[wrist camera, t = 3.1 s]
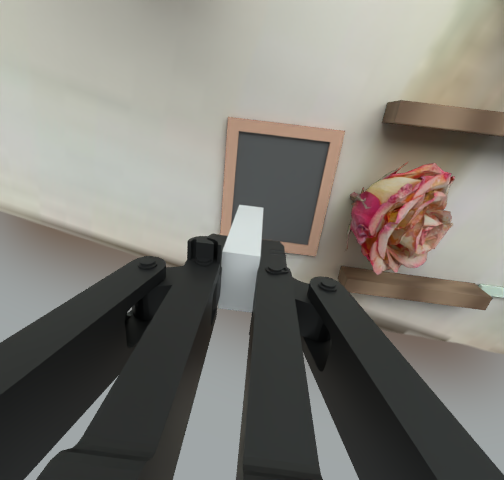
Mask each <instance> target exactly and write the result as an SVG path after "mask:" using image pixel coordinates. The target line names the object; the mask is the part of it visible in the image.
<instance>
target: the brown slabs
mask: <svg viewBox="0 0 504 480" xmlns="http://www.w3.org/2000/svg"><path fill="white" fill-rule="evenodd" d="M382 122H383V123H391V124H399V125H408V126H416V127H424V128H433V129H441V130H449V131H458V132H466V133H475V134H483V135H491V136H500V137H504V112H496V111H488V110H479V109H471V108H462V107H454V106H445V105H437V104H428V103H420V102H411V101H403V100H400V101H394V102H388V103H387V107H386V110H385V114H384V117H383V121H382ZM338 279H339V282H340V283H341V284H342V285H343V286H344V287H345V288H346V290H347V291H348V292H351V293H359V294H366V295H374V296H381V297H389V298H396V299H404V300H412V301H419V302H427V303H434V304H442V305H449V306H457V307H465V308H472V309H480V310H486V308H487V307H488V305H489V303H490V301H491V300H492V297H491V296H490V295H488V294H487V293H486V292H485V291H483V290H482V289H481V288H480V287H478V286H477V285H476V284H475V283H467V282H459V281H452V280H444V279H436V278H429V277H421V276H413V275H406V274H398V273H390V272H382V273H381V274H378V275H377V274H376V273H375V272H374V271H373V270H367V269H360V268H352V267H344V266H341V269H340V273H339V276H338Z"/></svg>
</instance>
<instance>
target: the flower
mask: <svg viewBox="0 0 504 480" xmlns="http://www.w3.org/2000/svg"><path fill="white" fill-rule="evenodd" d="M407 163H408V162H407ZM407 163H406V164H407ZM406 164H404V165H406ZM404 165H403V166H404ZM403 166H401V167H400V168H398V169H396V170H394V171H392V172H390V173H388V174H387V175H385V176H384V177H382V178H381V179H380V180H379V181H377V182H376V183H374V184H373V185H371V186H370V187H369V188H368V189H367V190H366V191H365V192H364V187H363V188H362V192H361V194H357V193H355V192H354V193H352V194H351V195H350V198H351V200H352V201H354V203H353V204H351V205H353V208H352V212H351V216H352V220H351V222H350V224H349V227H348V231H347V247H348V238H349V233H350V231H351V230H352V231H353V233H354V235H355V236H356V238H357V242H358V243H359V244H360V245H361V246H362V248H361V252H362V254H363V255H364V256H366V257H367V259H368V261H370V262H371V264H372V266H373V271H374V272H375V273H376V274H377V275H378V274H381V273H382V272H383V271H385V270H389V269H392V270H393V271H394V272H397V271H398V269H399V267H400V266H401V265H402V264H403V265H404V266H406V267H408V268H417V267H419V266H420V265H422V264H423V263H424V262H425V261H426V259H427V252H428V251H430V250H431V249H435V247H436V246H437V244H438V243H439V242H440V240H441V239H442V238H443V236H444V235H445V234H446V232H447V231H448V230H449V228H450V227H451V226H452V225H453V223H450V222H451V219H452V216H451V214H450V212H449V211H443V210H444V209H445V207H446V204H447V194H448V190H449V187H450V186H451V184H452V182H453V181H454V179H455V177H454V176H452V177H450V176H451V173H448V172H444V171H443V170H442V169H440V168H439V167H438V166H437V164H436V163H433V164H427V165H423V166H421V167H418V168H416V169H414V170H411V171H409V172H406V173H400V174H396V172H397V171H398V170H399V169H401V168H402V167H403ZM451 181H452V182H451ZM346 250H347V249H346ZM346 250H345V251H346Z"/></svg>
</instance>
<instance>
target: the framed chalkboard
mask: <svg viewBox="0 0 504 480" xmlns="http://www.w3.org/2000/svg"><path fill="white" fill-rule="evenodd" d="M344 134H345V131H341V130H332V129H324V128H316V127H308V126H299V125H291V124H283V123H274V122H266V121H258V120H249V119H241V118H233V117H228V124H227V139H226V155H225V170H224V185H223V200H222V215H221V230H220V235H225V236H228V234H229V232H230V229H231V226H232V223H233V221H234V218H235V215H236V212H237V210H238V207H239V205H246V206H254V207H262V208H263V224H262V239H264V240H272V241H280V242H281V243H282V244H283V245H284V249H285V252H287V253H294V254H302V255H310V256H316V253H317V249H318V245H319V240H320V236H321V232H322V228H323V223H324V219H325V215H326V210H327V206H328V202H329V198H330V193H331V189H332V185H333V181H334V176H335V172H336V168H337V164H338V159H339V155H340V151H341V146H342V142H343V138H344Z"/></svg>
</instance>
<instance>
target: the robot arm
mask: <svg viewBox="0 0 504 480" xmlns="http://www.w3.org/2000/svg"><path fill="white" fill-rule="evenodd" d="M262 224H263V208H262V207H254V206H246V205H239V207H238V210H237V212H236V215H235V218H234V221H233V223H232V226H231V229H230V232H229V234H228V236H225V235H217V234H211V235H209V236H199V237H194V238H191V239H189V240H188V252H187V261H186V263H185V265H184V266H180V267H166V262H165V261H164V260H163V259H161V258H159V257H153V256H144V257H141V258H137V259H135V260H133V261H131V262H130V263H128V264H126V265H125V266H123V267H122V268H120V269H118V270H117V271H115V272H114V273H112V274H110V275H109V276H107V277H105V278H104V279H102V280H101V281H99V282H97V283H96V284H94V285H93V286H91V287H89V288H88V289H86V290H85V291H83V292H81V293H80V294H78V295H76V296H75V297H73V298H72V299H70V300H68V301H67V302H65V303H64V304H62V305H61V306H59V307H57V308H56V309H54V310H52V311H51V312H49V313H48V314H46V315H44V316H43V317H41V318H40V319H38V320H36V321H35V322H33V323H31V324H30V325H28V326H27V327H25V328H23V329H22V330H20V331H19V332H17V333H15V334H14V335H12V336H11V337H9V338H7V339H6V340H4V341H3V342H1V343H0V480H24V479H25V478H26V477H27V475H28V474H29V473H30V472H31V471H32V470H33V469H34V468H35V467H36V466H37V464H38V463H39V462H40V461H41V460H42V459H43V458H44V457H45V456H46V455H47V453H48V452H49V451H50V450H51V449H52V448H53V447H54V446H55V445H56V443H57V442H58V441H59V440H60V439H61V438H62V437H63V436H64V435H65V434H66V432H67V431H68V430H69V429H70V428H71V427H72V426H73V425H74V424H75V423H76V421H77V420H78V419H79V418H80V417H81V416H82V415H83V414H84V413H85V412H86V410H87V409H88V408H89V407H90V406H91V405H92V404H93V403H94V401H95V400H96V399H97V398H98V397H99V396H100V395H101V394H102V393H103V392H104V391H105V389H106V388H107V387H108V386H109V385H110V384H111V383H112V382H113V381H114V380H115V378H116V377H117V376H118V375H119V376H118V378H117V379H116V381H115V383H114V384H113V386H112V388H111V389H110V391H109V393H108V395H107V396H106V398H105V400H104V401H103V403H102V405H101V406H100V408H99V410H98V411H97V413H96V415H95V416H94V418H93V420H92V421H91V423H90V425H89V426H88V428H87V430H86V431H85V433H84V435H83V437H82V438H81V439H80V441H79V442H78V443H77V445H75V446H74V447H73V448H71V449H67V450H63V451H61V452H59V453H58V454H57V455H56V456H55V457H54V458H52V460H50V462H49V463H48V464H47V466H46V467H45V468H44V470H43V471H42V472H41V474H40V475H39V476H38V478H37V479H36V480H173V476H174V472H175V469H176V465H177V461H178V457H179V454H180V450H181V446H182V442H183V438H184V435H185V431H186V428H187V424H188V420H189V416H190V413H191V409H192V405H193V401H194V398H195V394H196V390H197V387H198V382H199V379H200V375H201V371H202V368H203V364H204V361H205V357H206V353H207V349H208V346H209V342H210V338H211V334H212V331H213V326H214V323H215V320H216V315H217V305H218V308H220V309H228V310H236V311H244V312H251V313H252V318H251V325H250V332H249V335H250V338H249V348H248V359H247V370H246V380H245V391H244V401H243V413H242V422H241V423H242V424H241V433H240V444H239V454H238V465H237V477H236V480H323V479H322V477H321V473H320V468H319V462H318V455H317V448H316V441H315V434H314V427H313V420H312V414H311V406H310V399H309V392H308V385H307V379H306V372H305V365H304V358H303V353H304V355H305V357H306V360H307V362H308V364H309V366H310V369H311V371H312V373H313V375H314V378H315V380H316V382H317V385H318V387H319V389H320V391H321V393H322V396H323V398H324V400H325V403H326V405H327V407H328V409H329V412H330V414H331V416H332V418H333V421H334V423H335V425H336V427H337V430H338V432H339V435H340V437H341V439H342V441H343V444H344V446H345V448H346V450H347V453H348V455H349V457H350V459H351V462H352V464H353V466H354V469H355V471H356V473H357V475H358V478H359V480H504V475H503V474H502V473H501V471H500V470H499V469H498V468H497V467H496V465H495V464H494V463H493V462H492V461H491V460H490V459H489V457H488V456H487V455H486V454H485V452H484V451H483V450H482V449H481V448H480V447H479V445H478V444H477V443H476V442H475V441H474V440H473V438H472V437H471V436H470V435H469V434H468V432H467V431H466V430H465V429H464V428H463V427H462V425H461V424H460V423H459V422H458V421H457V419H456V418H455V417H454V416H453V415H452V413H451V412H450V411H449V410H448V409H447V408H446V407H445V405H444V404H443V403H442V402H441V401H440V399H439V398H438V397H437V396H436V395H435V394H434V392H433V391H432V390H431V389H430V388H429V386H428V385H427V384H426V383H425V382H424V381H423V379H422V378H421V377H420V376H419V375H418V373H417V372H416V371H415V370H414V369H413V367H412V366H411V365H410V364H409V363H408V362H407V360H406V359H405V358H404V357H403V356H402V355H401V353H400V352H399V351H398V350H397V349H396V347H395V346H394V345H393V344H392V343H391V342H390V340H389V339H388V338H387V337H386V336H385V334H384V333H383V332H382V331H381V330H380V328H379V327H378V326H377V325H376V324H375V323H374V321H373V320H372V319H371V318H370V317H369V315H368V314H367V313H366V312H365V311H364V310H363V308H362V307H361V306H360V305H359V304H358V303H357V301H356V300H355V299H354V298H353V297H352V295H351V294H350V293H349V292H348V291H347V290H346V288H345V287H344V286H343V285H342V284H341V283H339V282H338V281H336V280H334V279H332V278H329V277H315V278H313V279H311V281H310V284H307V283H304V282H301V281H298V280H296V279H294V278H293V277H292V275H291V271H290V269H289V268H287V264H286V257H285V249H284V245H283V244H282V243H281V242H280V241H272V240H264V239H262ZM218 301H219V302H218ZM131 307H132V310H131V311H130V312H129V313H127V312H128V310H129V309H130V308H131ZM302 350H303V351H302Z"/></svg>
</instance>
